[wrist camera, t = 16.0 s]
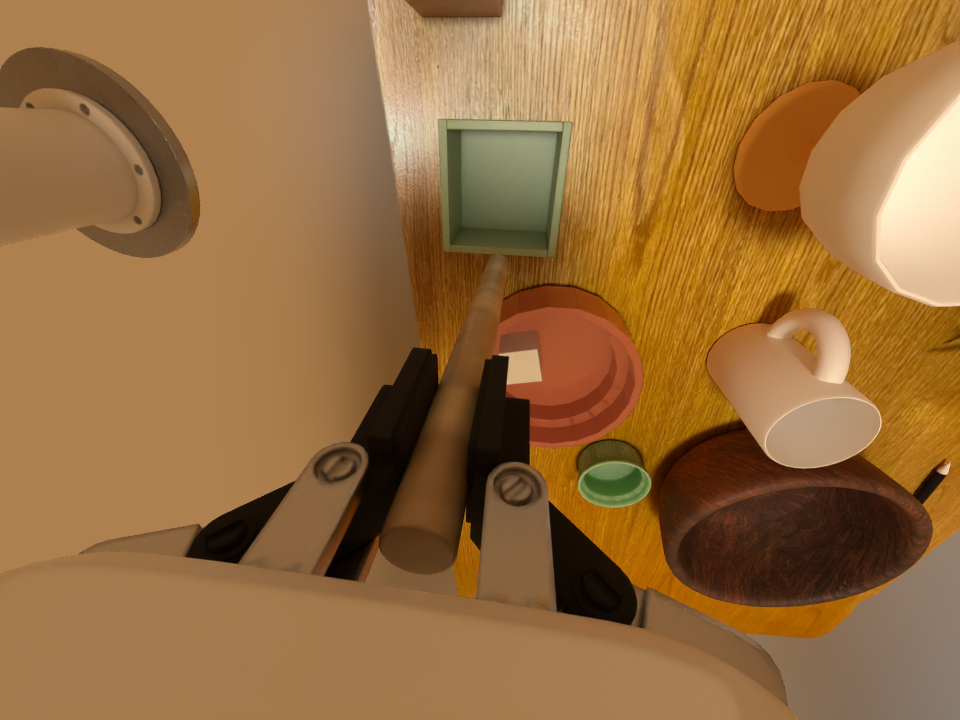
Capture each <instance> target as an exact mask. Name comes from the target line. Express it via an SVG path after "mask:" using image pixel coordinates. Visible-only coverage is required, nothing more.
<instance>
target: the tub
mask: <svg viewBox="0 0 960 720" xmlns="http://www.w3.org/2000/svg"><path fill="white" fill-rule="evenodd" d="M572 124H573V122H560V121H513V120H467V119H438V130H439V156H440V183H441V210H442V237H443V251H444V252H462V253H480V254H501V255H516V256H533V257H551V258H554V257H555V252H556V245H557V237H558V229H559V222H560V214H561V207H562V199H563V192H564V184H565V177H566V169H567V162H568V154H569V147H570V139H571V132H572Z"/></svg>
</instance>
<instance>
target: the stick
mask: <svg viewBox="0 0 960 720" xmlns="http://www.w3.org/2000/svg"><path fill="white" fill-rule="evenodd" d="M508 270H509V262H508V260H507V258H506V257H505V256H503V255H501V254H495V255H493V256H491V257H490V258H489V260H488V262H487V264H486V267H485V269H484V272H483V274H482V277H481V279H480V282H479V285H478V287H477V290H476V292H475V295H474V297H473V300H472V302H471V305H470V307H469V310H468V312H467V315H466V318H465V320H464V323H463V325H462V328H461V330H460V333H459V335H458V338H457V340H456V343H455V345H454V348H453V350H452V353H451V356H450V358H449V361H448V363H447V366H446V368H445V371H444V373H443V376H442V378H441V381H440V383H439V386H438V389H437V391H436V394H435V396H434V399H433V401H432V404H431V406H430V409H429V411H428V414H427V417H426V419H425V422H424V424H423V427H422V429H421V432H420V434H419V437H418V439H417V442H416V444H415V447H414V450H413V452H412V455H411V457H410V460H409V462H408V465H407V467H406V470H405V472H404V475H403V477H402V480H401V482H400V485H399V487H398V490H397V492H396V495H395V497H394V500H393V503H392V505H391V508H390V510H389V513H388V515H387V518H386V520H385V523H384V525H383V528H382V530H381V533H380V535H379V548H380V551H381V553H382V555H383V556H384V557H385V558H386V559H387V560H388V561H389V562H390V563H391V564H393V565H395V566H396V567H398V568H400V569H402V570H405V571H408V572H411V573H415V574H423V575H430V574H437V573H441V572H444V571H446V570H447V569H449V568H450V567H451V566H452V565H453V563H454V562H455V560H456V558H457V553H458V547H459V541H460V536H461V530H462V525H463V519H464V514H465V508H466V503H467V497H468V492H469V486H468V483H467V455H468V444H469V438H470V433H471V428H472V423H473V418H474V413H475V408H476V403H477V398H478V393H479V388H480V383H481V378H482V373H483V368H484V362H485V359H492V355H493V353H494V347H495V342H496V336H497V331H498V325H499V320H500V314H501V308H502V303H503V297H504V292H505V286H506V281H507V275H508Z"/></svg>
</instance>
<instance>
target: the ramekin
mask: <svg viewBox="0 0 960 720" xmlns="http://www.w3.org/2000/svg"><path fill="white" fill-rule="evenodd" d="M578 471H579V477H578V490H579V492H580V494H581V495H582V497H583V498H585V499H586V500H587V501H589V502H591V503H593V504H595V505H598V506H602V507H610V508H616V507H625V506H629V505H632V504H634V503H637V502H639V501H640V500H642V499H643V498H644V497H645V496H646V495H647V494H648V493H649V491H650V489H651V478H650V475H649V474H648V472H647V470H646V469H645V468H644V465H643V463H642V461H641V458H640V456H639V454H638V452H637V451H636V450H635V449H634V448H633V447H632V446H630V445H628V444H626V443H624V442H620V441H614V440H606V441H600V442H597V443H594V444H592V445H590V446H588V447H587V448H586V449H584V450H583V452H582V453H581V455H580V457H579V462H578Z"/></svg>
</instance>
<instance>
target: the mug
mask: <svg viewBox="0 0 960 720" xmlns="http://www.w3.org/2000/svg"><path fill="white" fill-rule="evenodd" d="M803 329H805V330H808V331H809V332H810V333H811V334H812V335H813V336H814V338H815V341H816V346H817V357H816V356H815V355H814V354H813V353H811V352H810V351H809V350H808V349H806V348H805V347H804V346H803V345H802V344H800V343H799V342H798V341H797V340H795V339H794V338H793V337H792V336H793V335H794V334H795V333H797V332H798V331H801V330H803ZM850 358H851V348H850V341H849V338H848V335H847V333H846V330H845V328H844V327H843V325H842V323H841V322H840V321H839V320H838V319H837V318H836V317H835V316H833V315H832V314H830V313H828V312H826V311H823V310H820V309H816V308H804V309H798V310H794V311H791V312H789V313H787V314H785V315H783V316H782V317H781V318H779V319H778V320H777V321H776V322H774V323H773V324H772V325H771V324H764V323H755V324H748V325H744V326H741V327H738V328H736V329H734V330H731V331H730V332H728V333H726V334H725V335H723V336H722V337H721V338H720V339H719V340H718V341H717V342H716V343H715V344H714V345H713V347H712V348H711V350H710V352H709V354H708V357H707V370H708V372H709V374H710V376H711V377H712V379H713V380H714V381H715V383H716V384H717V386H718V387H719V389H720V390H721V391H722V393H723V394H724V396H725V397H726V398H727V400H728V401H729V403H730V404H731V406H732V407H733V408H734V410H735V411H736V413H737V414H738V415H739V417H740V418H741V420H742V421H743V422H744V424H745V425H746V427H747V428H748V430H749V431H750V432H751V434H752V435H753V437H754V438H755V439H756V441H757V442H758V444H759V445H760V447H761V448H762V449H763V451H764V452H765V454H766V455H767V456H768V457H769V458H771V459H772V460H774V461H776V462H777V463H779V464H782V465H785V466H789V467H794V468H817V467H822V466H828V465H831V464H835V463H838V462H841V461H843V460H846V459H848V458H850V457H852V456H854V455H856V454H857V453H859V452H860V451H862V450H863V449H865V448H866V447H867V446H868V445H869V444H870V443H871V442H872V441H873V440H874V439H875V437H876V436H877V435H878V433H879V431H880V428H881V422H882V419H881V415H880V412H879V410H878V408H877V407H876V405H875V404H874V403H872V402H871V401H870V400H869V399H867V398H866V397H865V396H864V395H863V394H861V393H860V392H859V391H858V390H856V389H855V388H854V387H853V386H852V385H850V384H849V383H848V382H847V381H845V380H844V379H845V377H846V375H847V372H848V369H849V365H850Z"/></svg>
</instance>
